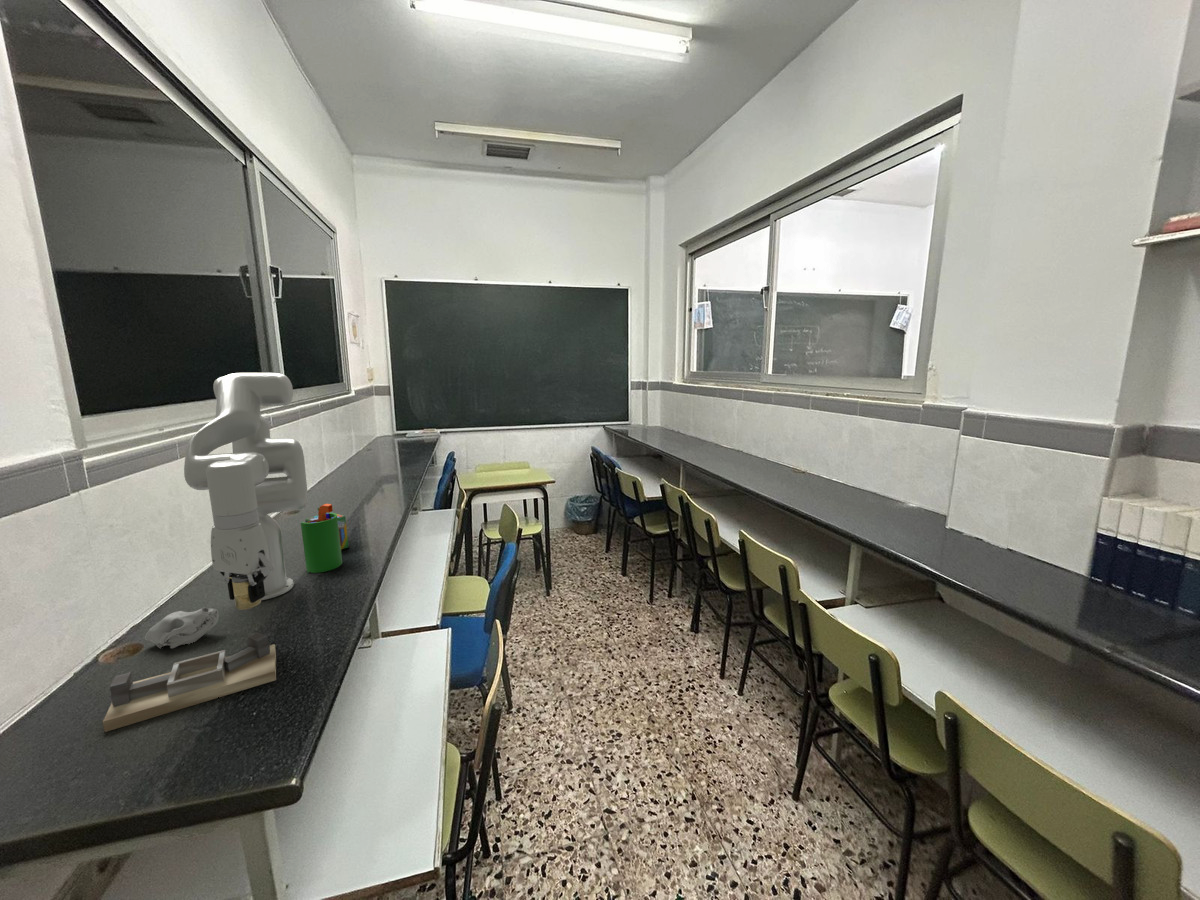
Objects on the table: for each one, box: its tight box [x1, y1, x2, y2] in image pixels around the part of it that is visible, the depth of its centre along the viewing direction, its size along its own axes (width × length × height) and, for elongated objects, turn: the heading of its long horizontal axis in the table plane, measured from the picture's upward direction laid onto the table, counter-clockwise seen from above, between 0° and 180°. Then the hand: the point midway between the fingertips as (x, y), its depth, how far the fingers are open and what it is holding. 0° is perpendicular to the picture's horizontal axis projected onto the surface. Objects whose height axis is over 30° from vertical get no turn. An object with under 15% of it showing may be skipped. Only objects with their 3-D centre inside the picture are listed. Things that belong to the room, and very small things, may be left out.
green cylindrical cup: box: [300, 503, 343, 574], centre depth 144 cm, size 10×9×20 cm
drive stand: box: [102, 631, 277, 733], centre depth 90 cm, size 11×24×6 cm, turn 125°
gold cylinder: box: [232, 572, 262, 611], centre depth 101 cm, size 4×4×7 cm
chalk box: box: [304, 507, 350, 551], centre depth 158 cm, size 9×9×15 cm
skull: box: [144, 607, 220, 649], centre depth 105 cm, size 8×9×12 cm
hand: (247, 597), depth 102 cm, fingers closed on gold cylinder, 4 cm apart
